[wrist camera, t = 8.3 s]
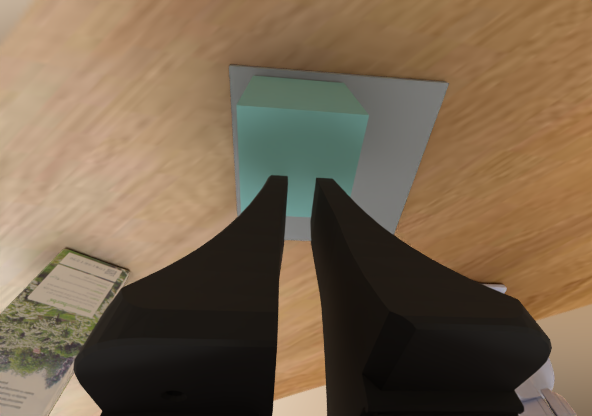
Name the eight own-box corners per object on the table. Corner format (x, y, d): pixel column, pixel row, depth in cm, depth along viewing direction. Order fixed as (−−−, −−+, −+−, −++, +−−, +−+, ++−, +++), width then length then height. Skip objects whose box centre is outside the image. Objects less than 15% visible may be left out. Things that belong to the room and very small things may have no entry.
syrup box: (54, 282, 27) (-132, 498, 15) (64, 244, 24) (-156, 471, 12) (117, 301, 29) (-5, 506, 17) (132, 268, 26) (0, 486, 14)
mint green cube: (343, 83, 16) (369, 115, 11) (330, 164, 19) (345, 219, 14) (253, 75, 16) (236, 104, 11) (253, 159, 19) (241, 213, 14)
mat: (445, 81, 17) (449, 83, 17) (388, 240, 24) (390, 244, 24) (230, 64, 16) (228, 65, 16) (239, 234, 24) (238, 237, 23)
